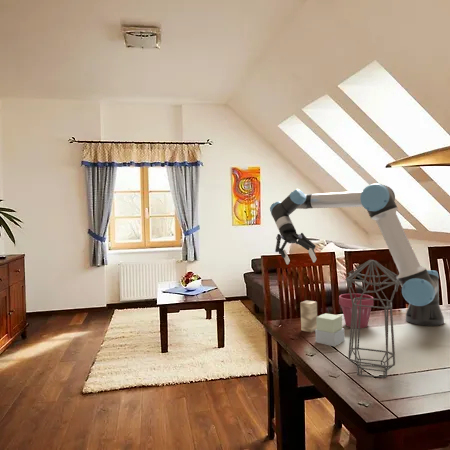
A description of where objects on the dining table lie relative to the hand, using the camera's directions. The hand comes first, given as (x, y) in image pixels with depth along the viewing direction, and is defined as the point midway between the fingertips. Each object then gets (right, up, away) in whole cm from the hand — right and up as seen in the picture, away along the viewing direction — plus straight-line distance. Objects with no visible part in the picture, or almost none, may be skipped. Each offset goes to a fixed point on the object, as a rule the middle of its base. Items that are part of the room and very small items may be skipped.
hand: (301, 261), depth 171 cm
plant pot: (+23, -28, -5) cm, 36 cm away
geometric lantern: (+12, -29, -54) cm, 62 cm away
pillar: (+1, -28, -9) cm, 30 cm away
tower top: (+6, -24, -25) cm, 35 cm away
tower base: (+6, -29, -25) cm, 39 cm away
